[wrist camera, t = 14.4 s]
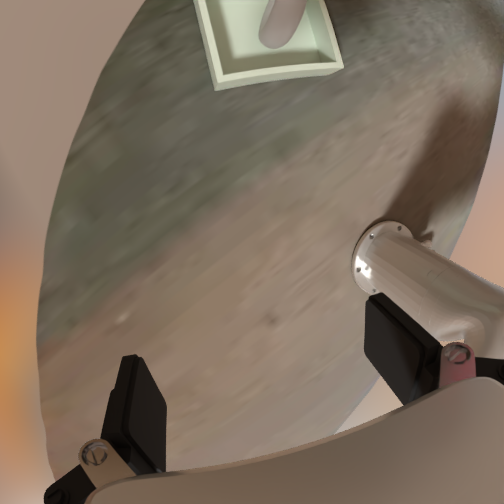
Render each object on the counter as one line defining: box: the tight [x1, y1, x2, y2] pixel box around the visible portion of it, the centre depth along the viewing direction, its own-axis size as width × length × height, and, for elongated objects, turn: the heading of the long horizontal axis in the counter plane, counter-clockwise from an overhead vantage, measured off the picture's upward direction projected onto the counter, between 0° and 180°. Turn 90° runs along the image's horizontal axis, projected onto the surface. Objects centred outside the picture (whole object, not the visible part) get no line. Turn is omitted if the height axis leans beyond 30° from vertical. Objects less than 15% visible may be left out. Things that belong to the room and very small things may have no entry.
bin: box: [193, 0, 344, 91], centre depth 29 cm, size 16×16×5 cm
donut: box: [258, 0, 307, 49], centre depth 26 cm, size 10×3×10 cm, turn 166°
